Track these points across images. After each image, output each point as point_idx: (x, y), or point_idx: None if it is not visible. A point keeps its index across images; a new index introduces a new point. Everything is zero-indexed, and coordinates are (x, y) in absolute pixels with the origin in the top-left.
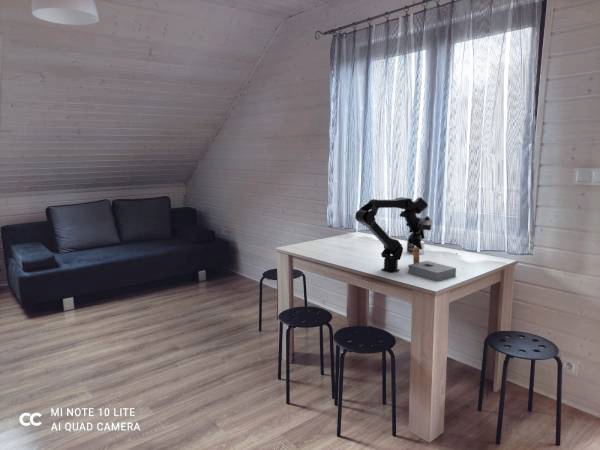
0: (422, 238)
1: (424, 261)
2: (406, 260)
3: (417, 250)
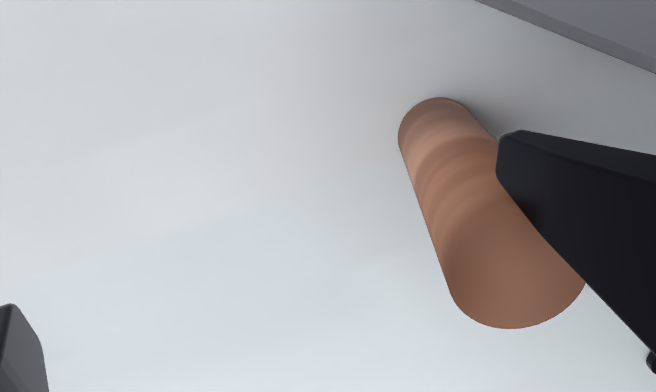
0: (38, 350)
1: (538, 8)
2: (202, 328)
3: None
